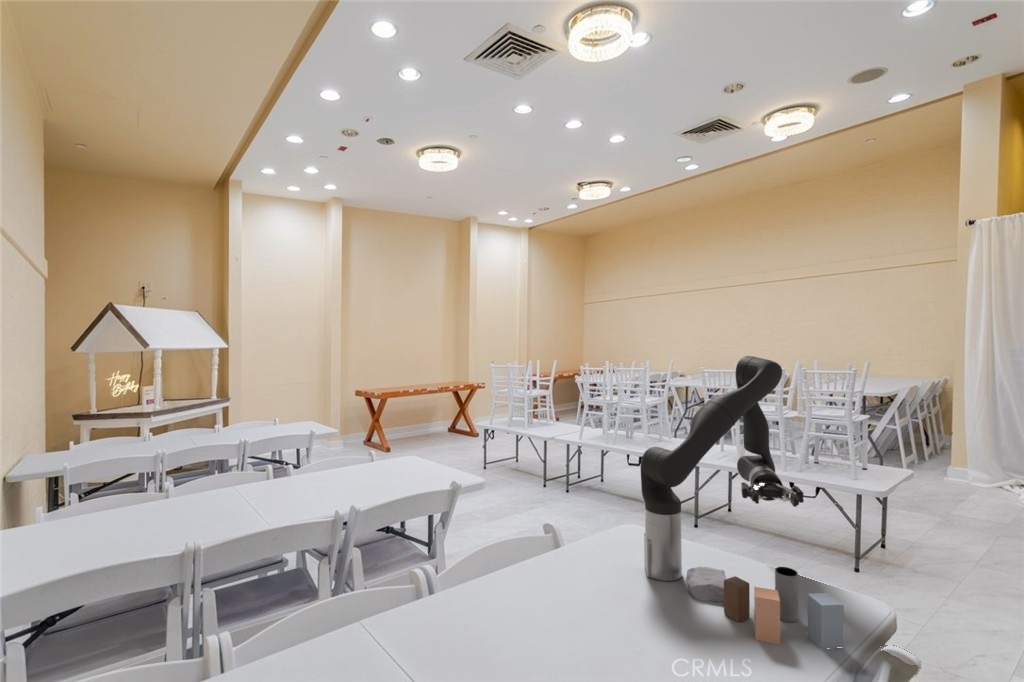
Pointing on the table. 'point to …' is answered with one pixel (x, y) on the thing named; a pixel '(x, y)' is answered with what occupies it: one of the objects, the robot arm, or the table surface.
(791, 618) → the planter
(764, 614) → the terracotta block
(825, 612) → the slate-blue block
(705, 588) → the stone block
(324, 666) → the table surface
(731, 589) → the wooden block
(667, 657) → the table surface
